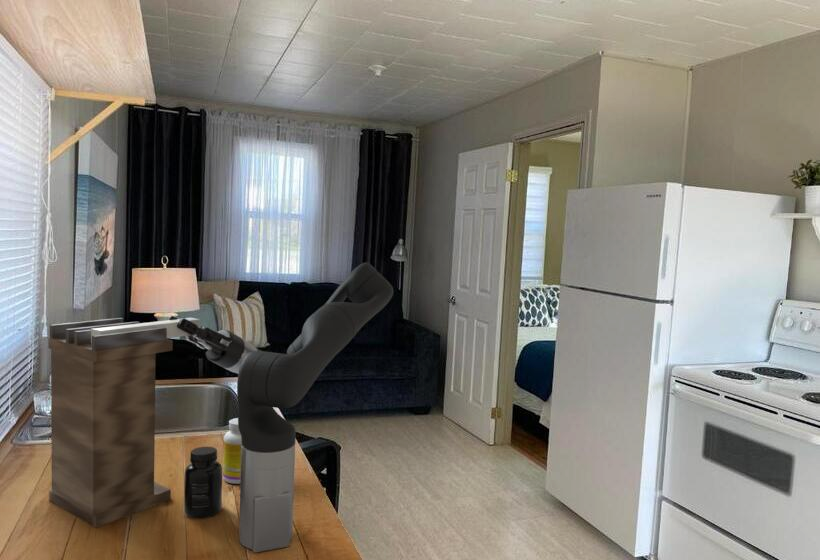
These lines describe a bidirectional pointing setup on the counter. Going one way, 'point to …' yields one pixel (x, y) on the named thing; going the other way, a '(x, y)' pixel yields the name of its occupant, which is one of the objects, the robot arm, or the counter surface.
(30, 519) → the counter surface
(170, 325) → the bar
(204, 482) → the supplement bottle
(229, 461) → the supplement bottle
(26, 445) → the counter surface
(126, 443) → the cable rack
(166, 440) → the counter surface
